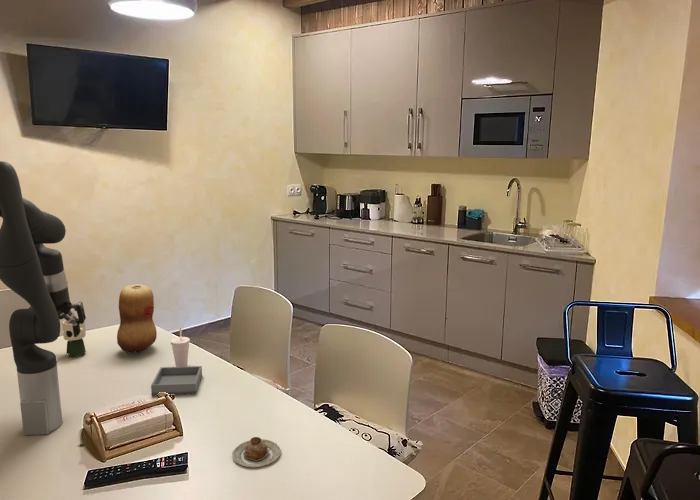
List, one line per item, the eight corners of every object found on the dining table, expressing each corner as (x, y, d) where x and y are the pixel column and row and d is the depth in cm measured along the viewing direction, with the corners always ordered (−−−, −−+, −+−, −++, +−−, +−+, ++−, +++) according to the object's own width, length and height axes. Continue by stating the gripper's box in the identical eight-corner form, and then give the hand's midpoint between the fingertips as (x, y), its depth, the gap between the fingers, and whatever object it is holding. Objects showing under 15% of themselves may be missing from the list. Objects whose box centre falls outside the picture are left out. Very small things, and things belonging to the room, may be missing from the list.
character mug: (58, 354, 193) (55, 320, 191) (77, 348, 199) (74, 315, 196) (75, 362, 187) (72, 326, 185) (94, 355, 193) (91, 321, 191)
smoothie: (194, 363, 188) (192, 325, 186) (186, 370, 182) (185, 331, 179) (176, 362, 189) (174, 324, 186) (168, 369, 183) (166, 330, 180)
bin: (196, 394, 166) (195, 383, 165) (151, 396, 164) (151, 385, 163) (202, 375, 178) (201, 366, 178) (161, 377, 177) (160, 367, 176)
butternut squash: (140, 360, 189) (136, 292, 184) (110, 355, 193) (105, 288, 188) (165, 347, 202) (162, 283, 197) (136, 342, 206) (132, 279, 201)
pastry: (258, 438, 143) (258, 422, 142) (290, 455, 136) (290, 438, 135) (222, 457, 134) (222, 441, 133) (254, 477, 126) (254, 459, 126)
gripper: (19, 292, 147) (29, 344, 152) (75, 290, 150) (83, 341, 155) (29, 281, 154) (38, 332, 159) (83, 279, 156) (90, 329, 162)
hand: (60, 336), depth 157 cm, fingers open, 8 cm apart
